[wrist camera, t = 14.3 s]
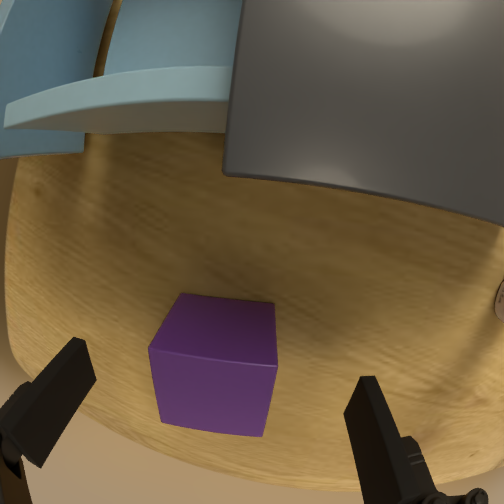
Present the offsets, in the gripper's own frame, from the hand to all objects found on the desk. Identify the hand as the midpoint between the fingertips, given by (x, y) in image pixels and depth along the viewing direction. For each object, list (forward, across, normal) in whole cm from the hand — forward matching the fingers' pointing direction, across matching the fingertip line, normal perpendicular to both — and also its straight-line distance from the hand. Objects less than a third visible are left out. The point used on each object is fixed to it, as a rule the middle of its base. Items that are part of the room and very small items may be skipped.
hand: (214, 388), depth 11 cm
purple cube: (+4, 0, 0) cm, 4 cm away
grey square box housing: (+4, +9, +16) cm, 19 cm away
